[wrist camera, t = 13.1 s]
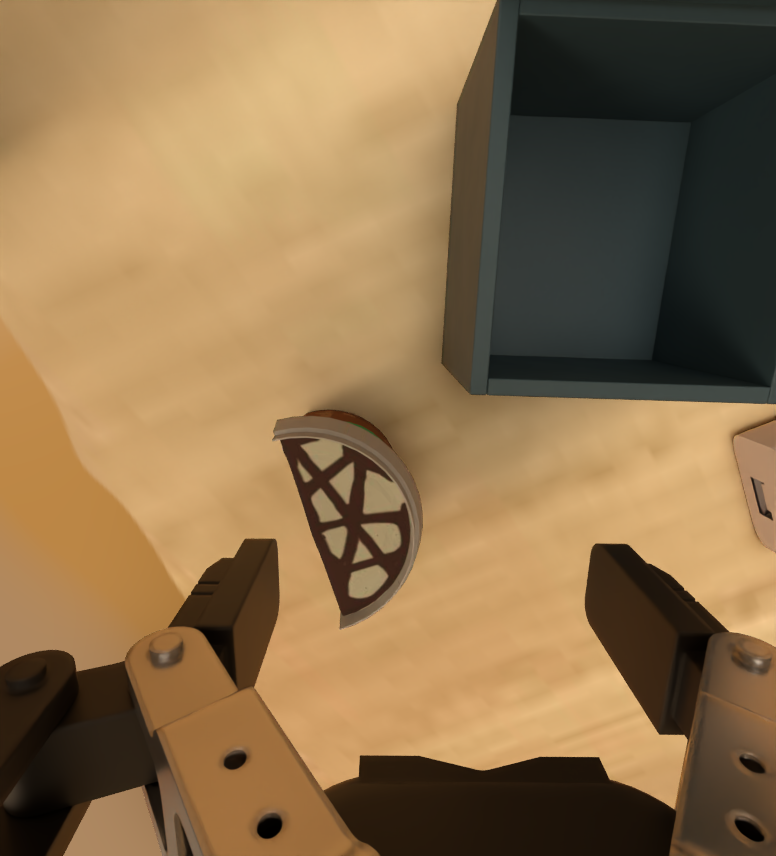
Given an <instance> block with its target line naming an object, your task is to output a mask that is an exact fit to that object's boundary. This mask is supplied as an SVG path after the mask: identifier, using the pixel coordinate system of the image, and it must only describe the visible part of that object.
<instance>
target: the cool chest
mask: <svg viewBox="0 0 776 856" xmlns="http://www.w3.org/2000/svg"><path fill="white" fill-rule="evenodd" d="M442 364H443V365H444V366H445V368H446V369H447V370H448V371H449V372H450V373H451V374H452V375H453V376H454V377H455V378H456V379H457V380H458V382H459V383H460V384H461V385H462V386H463V387H464V388H465V389H466V390H467V391H468V392H469V393H470V394H471V395H486V394H487V395H496V396H528V397H560V398H593V399H625V400H657V401H690V402H722V403H754V404H776V6H756V5H735V4H713V3H691V2H670V1H648V0H497V2H496V4H495V7H494V9H493V12H492V15H491V17H490V20H489V22H488V25H487V28H486V30H485V33H484V35H483V38H482V41H481V43H480V46H479V49H478V51H477V54H476V56H475V59H474V62H473V64H472V67H471V69H470V72H469V75H468V77H467V80H466V82H465V85H464V88H463V90H462V93H461V96H460V98H459V101H458V103H457V115H456V132H455V148H454V165H453V181H452V198H451V215H450V231H449V248H448V264H447V281H446V297H445V314H444V331H443V347H442Z"/></svg>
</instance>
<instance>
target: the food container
mask: <svg viewBox="0 0 776 856" xmlns="http://www.w3.org/2000/svg"><path fill="white" fill-rule="evenodd" d="M273 432H274V435H275V436H274V438H273V439H272V441H277V440H280V441H281V444H282V447H283V451H284V454H285V455H286V457H287V460H288V462H289V465H290V468H291V471H292V474H293V477H294V480H295V483H296V485H297V488H298V492H299V495H300V498H301V501H302V504H303V507H304V510H305V513H306V517H307V520H308V523H309V526H310V530H311V533H312V536H313V538H314V541H315V543H316V546H317V548H318V551H319V553H320V556H321V558H322V561H323V563H324V566H325V569H326V571H327V574H328V577H329V580H330V583H331V585H332V588H333V591H334V594H335V597H336V600H337V602H338V605H339V608H340V611H341V614H340V630H341V629H344V628H347V627H350V626H353V625H355V624H357V623H359V622H361V621H363V620H365V619H367V618H369V617H370V616H372V615H373V614H375V613H376V612H378V611H379V610H380V609H381V608H383V607H384V606H385V605H386V604H387V603H388V602H389V601H390V600H391V599H392V598H393V596H394V595H395V594H396V593H397V592H398V590H399V589H400V588H401V586H402V585H403V584H404V582H405V581H406V579H407V577H408V575H409V573H410V571H411V569H412V567H413V564H414V561H415V558H416V555H417V552H418V548H419V545H420V541H421V535H422V528H423V516H422V506H421V501H420V496H419V492H418V490H417V487H416V485H415V482H414V479H413V477H412V476H411V474H410V472H409V471H408V469H407V467H406V466H405V464H404V463H403V462H402V460H401V459H400V458H399V457H398V456H397V454H396V453H395V452H394V451H393V450H392V447H391V445H390V444H389V442H388V440H387V439H386V437H385V436H384V435H383V434H382V433H381V432H380V430H379V429H377V428H376V427H375V426H374V425H373V424H371V423H370V422H368V421H367V420H365V419H363V418H361V417H359V416H357V415H354V414H352V413H348V412H344V411H336V410H320V411H315V412H310V413H307V414H305V415H304V416H299V417H290V418H284V419H279V420H277V422H276V425H275V428H274V431H273Z"/></svg>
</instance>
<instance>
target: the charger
mask: <svg viewBox="0 0 776 856" xmlns="http://www.w3.org/2000/svg"><path fill="white" fill-rule="evenodd" d="M733 445H734V451H735V456H736V460H737V464H738V468H739V471H740V475H741V479H742V483H743V487H744V491H745V495H746V499H747V503H748V507H749V510H750V514H751V518H752V522H753V525H754V528H755V531H756V533H757V535H758V537H759V539H760V541H761V542H762V543H763V545H764V546H765V547H767V548H768V549H770V550H771V551H773V552H775V553H776V420H774V421H771V422H769V423H766V424H764V425H761V426H758V427H756V428H753V429H751V430H748V431H745V432H743V433H740V434H738V435H735V437H734V440H733Z"/></svg>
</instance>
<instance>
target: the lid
mask: <svg viewBox="0 0 776 856" xmlns="http://www.w3.org/2000/svg"><path fill="white" fill-rule="evenodd" d="M648 1H670V2H691V3H713V4H735V5H756V6H776V0H648Z"/></svg>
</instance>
